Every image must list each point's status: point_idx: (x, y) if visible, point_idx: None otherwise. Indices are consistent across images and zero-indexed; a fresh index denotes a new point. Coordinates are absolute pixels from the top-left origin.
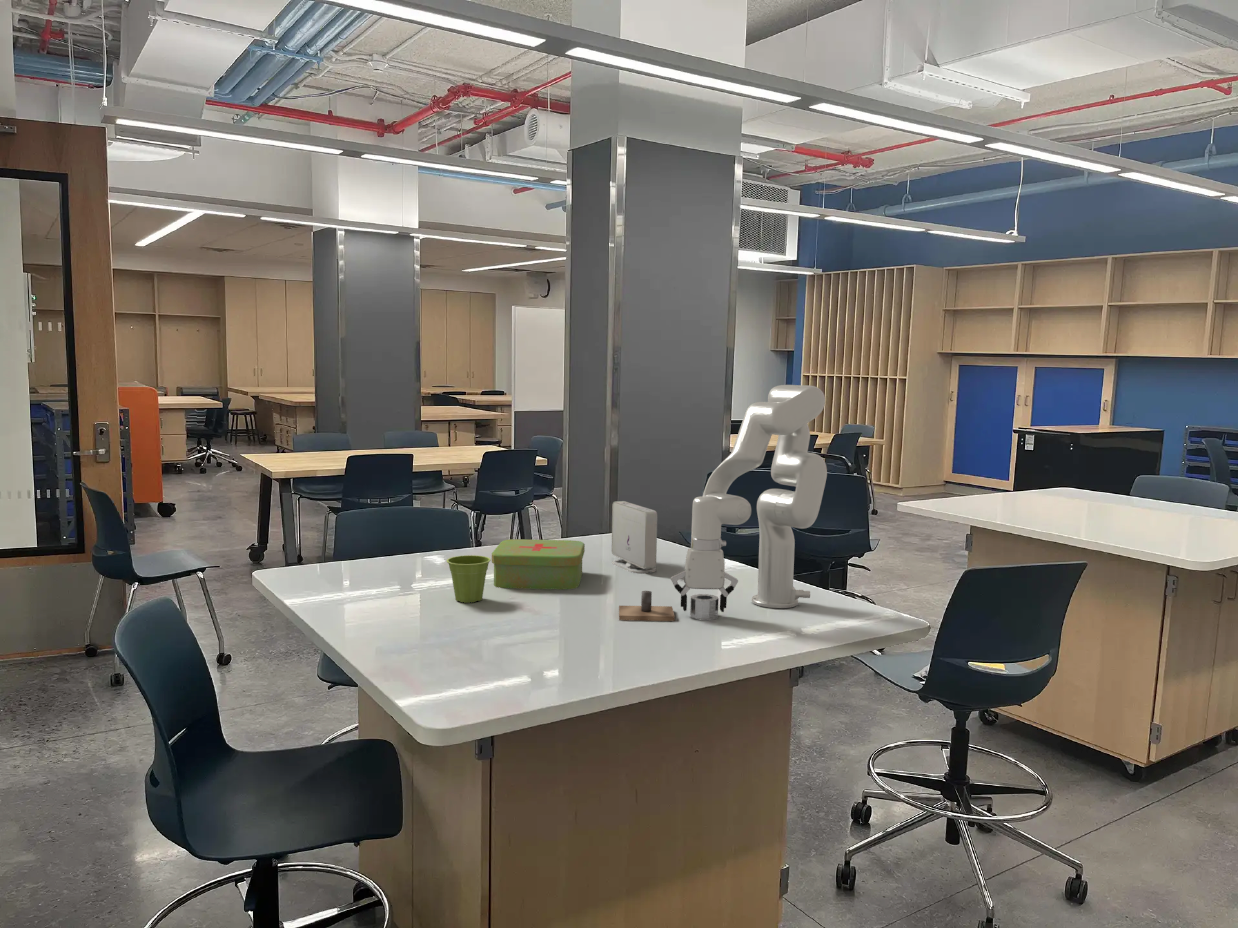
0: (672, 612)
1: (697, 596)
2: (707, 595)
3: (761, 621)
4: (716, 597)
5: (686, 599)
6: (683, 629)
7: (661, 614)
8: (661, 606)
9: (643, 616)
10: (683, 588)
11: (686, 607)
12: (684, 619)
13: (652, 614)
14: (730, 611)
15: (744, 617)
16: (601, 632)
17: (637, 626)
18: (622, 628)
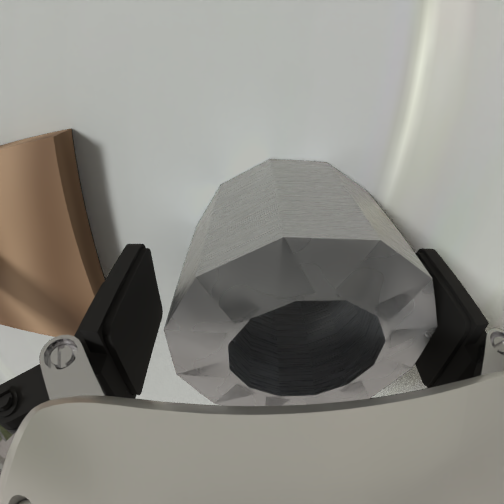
0: (85, 285)
1: (238, 331)
2: (366, 292)
3: (500, 308)
4: (414, 345)
5: (141, 375)
6: (177, 402)
7: (52, 315)
8: (3, 156)
9: (10, 324)
10: (67, 394)
11: (157, 327)
12: (165, 307)
13: (23, 313)
14: (483, 138)
15: (487, 260)
16: (3, 379)
17: (36, 362)
18: (17, 367)
